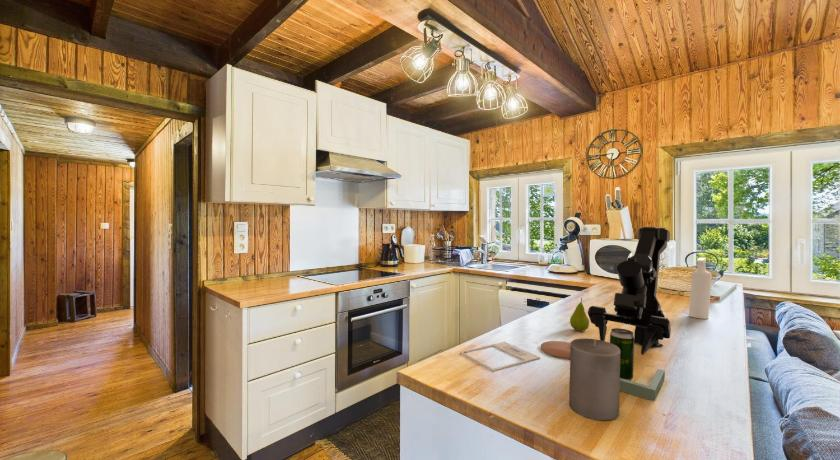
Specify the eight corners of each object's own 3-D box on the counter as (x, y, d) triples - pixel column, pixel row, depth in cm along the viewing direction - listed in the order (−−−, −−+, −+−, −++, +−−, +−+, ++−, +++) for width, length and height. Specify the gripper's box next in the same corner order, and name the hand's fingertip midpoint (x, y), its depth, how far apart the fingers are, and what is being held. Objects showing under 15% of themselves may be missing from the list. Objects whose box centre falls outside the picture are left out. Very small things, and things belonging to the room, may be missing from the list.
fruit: (570, 331, 127) (570, 298, 126) (569, 326, 133) (570, 295, 132) (589, 334, 124) (590, 300, 124) (588, 329, 130) (589, 297, 130)
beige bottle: (712, 315, 150) (715, 257, 149) (706, 321, 142) (708, 259, 141) (693, 312, 155) (695, 256, 154) (686, 317, 147) (688, 257, 146)
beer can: (625, 372, 93) (626, 328, 93) (637, 382, 88) (639, 334, 87) (604, 372, 93) (606, 327, 93) (615, 381, 88) (617, 334, 88)
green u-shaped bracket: (591, 361, 101) (592, 352, 101) (664, 380, 89) (664, 370, 89) (575, 377, 90) (575, 367, 90) (654, 401, 79) (655, 390, 79)
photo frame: (540, 356, 102) (493, 369, 93) (540, 360, 102) (493, 373, 93) (504, 341, 115) (460, 351, 106) (504, 344, 115) (460, 354, 106)
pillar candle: (576, 392, 82) (577, 329, 82) (623, 407, 76) (625, 339, 75) (562, 410, 75) (563, 341, 74) (613, 428, 69) (615, 352, 68)
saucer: (567, 341, 116) (567, 339, 116) (596, 357, 104) (596, 354, 104) (532, 345, 113) (532, 342, 113) (558, 361, 100) (558, 358, 100)
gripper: (590, 277, 100) (576, 324, 92) (670, 286, 87) (662, 341, 79) (598, 300, 106) (585, 346, 98) (674, 312, 93) (666, 365, 85)
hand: (621, 349), depth 90 cm, fingers open, 9 cm apart
